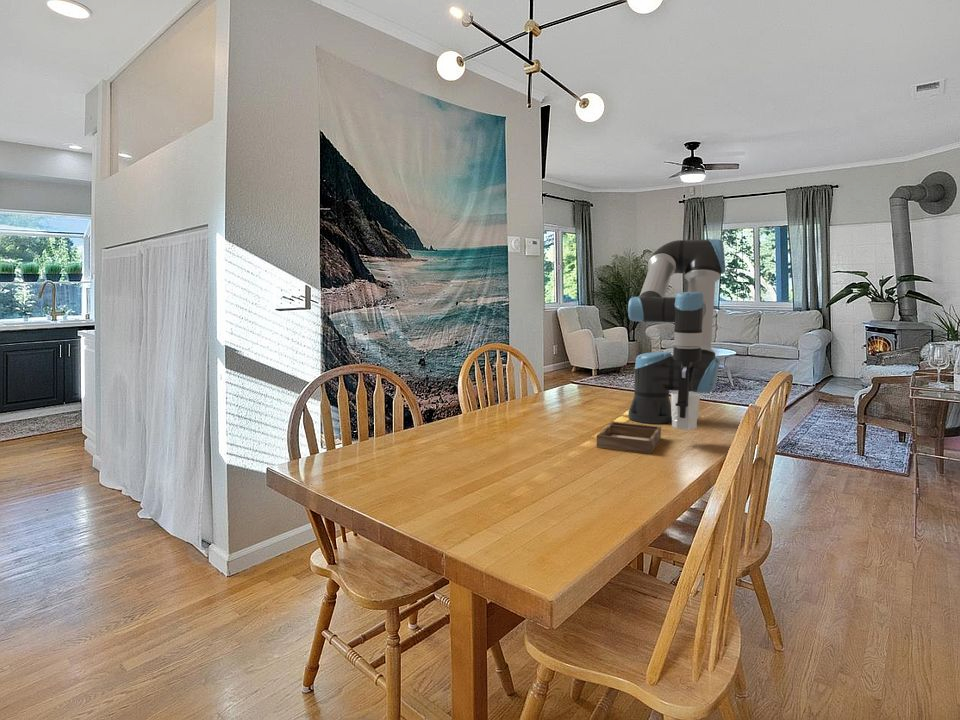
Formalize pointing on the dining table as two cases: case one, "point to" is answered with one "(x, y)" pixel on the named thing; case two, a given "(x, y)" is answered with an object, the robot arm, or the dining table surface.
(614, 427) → the walnut caddy
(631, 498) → the dining table surface
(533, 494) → the dining table surface
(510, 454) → the dining table surface
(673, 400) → the white cup
